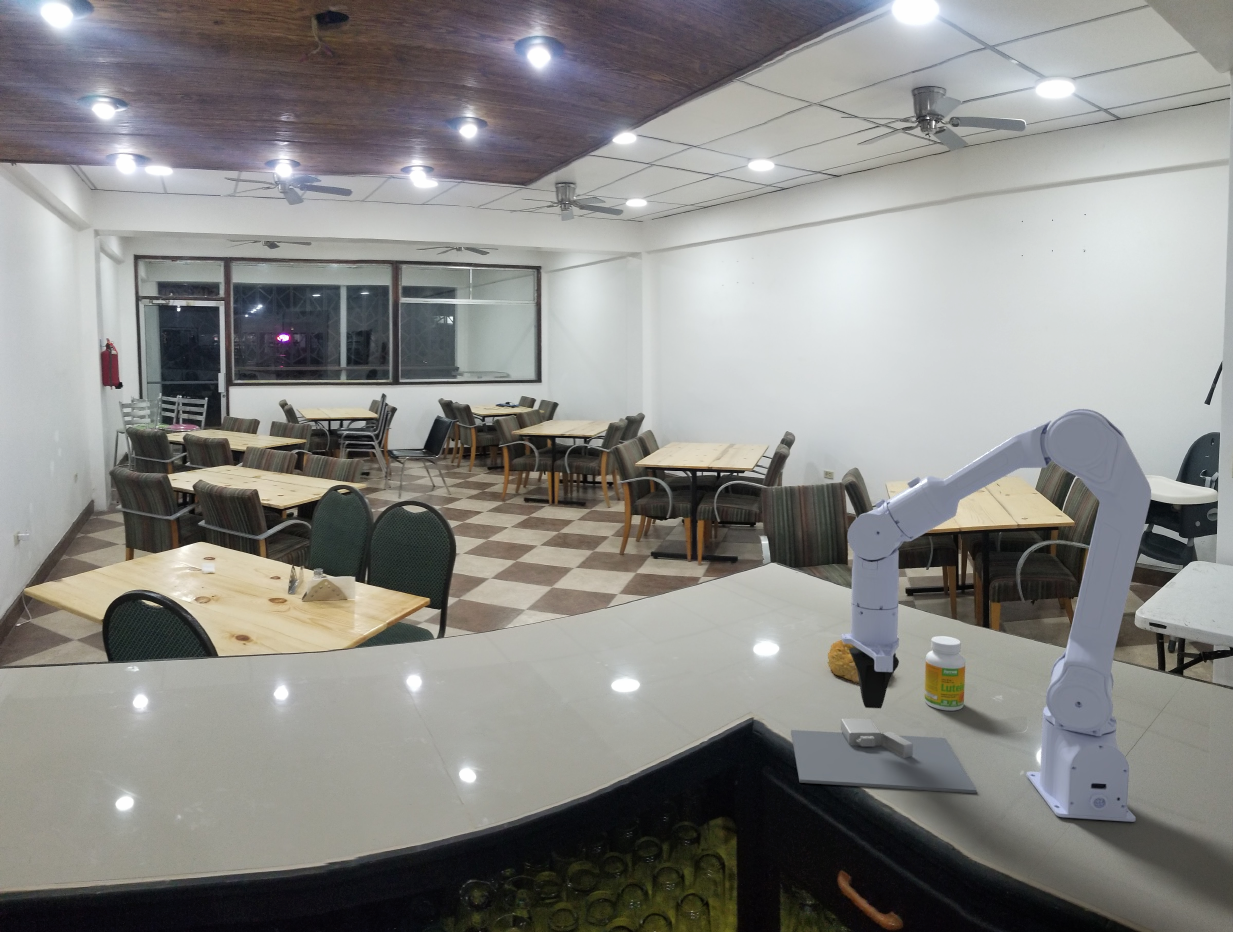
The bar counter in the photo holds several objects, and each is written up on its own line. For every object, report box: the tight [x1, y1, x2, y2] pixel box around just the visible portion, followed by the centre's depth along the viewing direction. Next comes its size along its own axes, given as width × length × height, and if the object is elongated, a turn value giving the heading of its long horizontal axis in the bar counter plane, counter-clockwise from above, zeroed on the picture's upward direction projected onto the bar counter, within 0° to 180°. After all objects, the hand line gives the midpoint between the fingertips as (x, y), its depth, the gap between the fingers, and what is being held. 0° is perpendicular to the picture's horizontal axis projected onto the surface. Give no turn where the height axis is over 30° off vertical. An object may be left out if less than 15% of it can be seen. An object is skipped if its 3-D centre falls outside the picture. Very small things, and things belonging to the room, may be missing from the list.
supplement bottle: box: [923, 635, 966, 712], centre depth 115 cm, size 5×5×10 cm
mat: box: [790, 729, 978, 794], centre depth 99 cm, size 14×20×1 cm
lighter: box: [840, 718, 913, 758], centre depth 102 cm, size 7×2×8 cm
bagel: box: [827, 639, 859, 684], centre depth 129 cm, size 10×11×5 cm
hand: (872, 705), depth 102 cm, fingers closed
